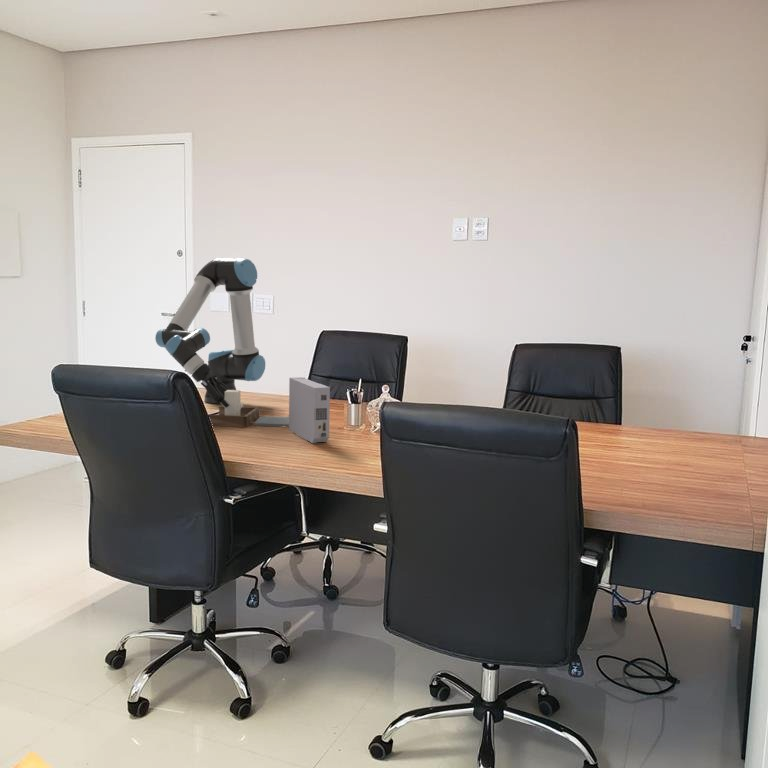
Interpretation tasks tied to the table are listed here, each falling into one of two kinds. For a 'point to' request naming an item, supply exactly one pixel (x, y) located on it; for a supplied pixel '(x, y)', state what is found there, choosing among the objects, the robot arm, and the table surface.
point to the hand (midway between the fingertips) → (237, 410)
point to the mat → (272, 421)
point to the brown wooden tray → (235, 417)
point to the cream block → (233, 401)
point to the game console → (309, 409)
